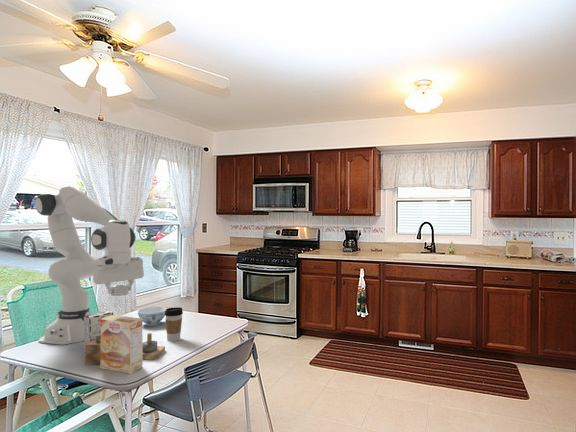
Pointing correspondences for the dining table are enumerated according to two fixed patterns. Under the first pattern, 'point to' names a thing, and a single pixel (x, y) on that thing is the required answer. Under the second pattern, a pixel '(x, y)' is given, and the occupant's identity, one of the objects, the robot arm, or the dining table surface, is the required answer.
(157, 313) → the chinaware
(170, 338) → the coffee cup
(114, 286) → the faceted octagonal planter
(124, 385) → the dining table surface
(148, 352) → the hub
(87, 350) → the stand
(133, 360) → the coffeecake box
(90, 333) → the candy bar box
